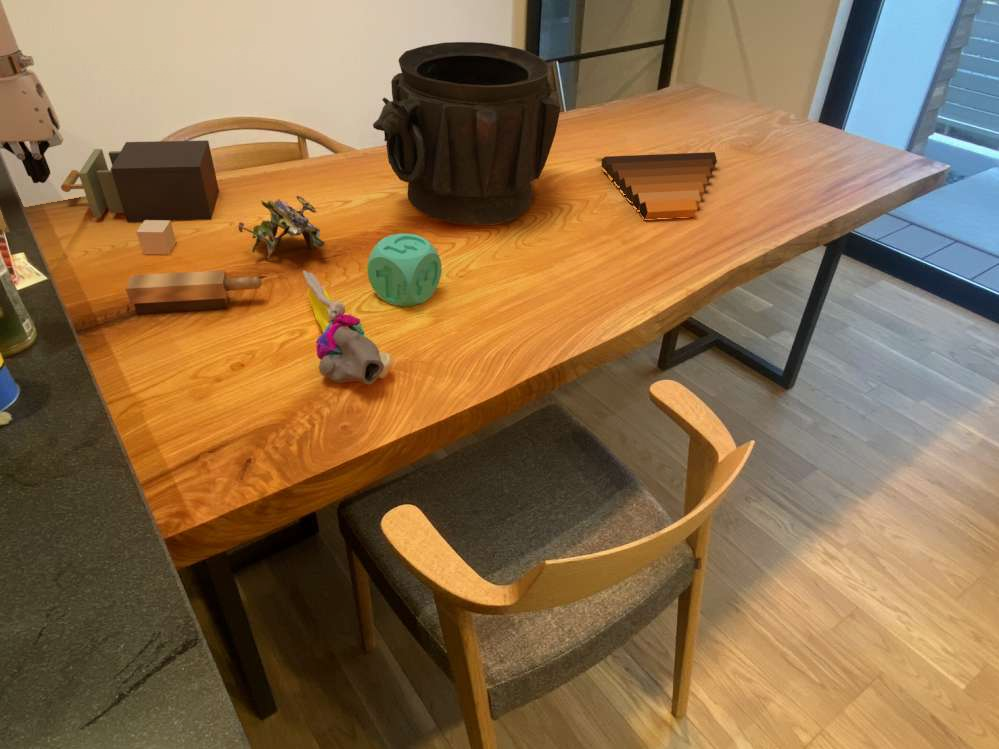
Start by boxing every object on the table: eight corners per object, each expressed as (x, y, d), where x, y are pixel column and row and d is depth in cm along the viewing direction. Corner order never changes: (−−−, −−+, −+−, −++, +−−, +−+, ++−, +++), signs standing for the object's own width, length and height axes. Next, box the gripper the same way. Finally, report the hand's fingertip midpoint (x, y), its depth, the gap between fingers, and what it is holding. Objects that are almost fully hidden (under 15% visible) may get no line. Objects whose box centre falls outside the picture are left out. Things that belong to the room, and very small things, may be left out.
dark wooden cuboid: (127, 222, 118) (110, 168, 112) (141, 193, 126) (125, 141, 120) (211, 219, 120) (199, 166, 114) (219, 191, 129) (208, 140, 123)
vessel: (366, 228, 120) (355, 79, 105) (413, 159, 145) (409, 30, 129) (540, 250, 118) (555, 100, 102) (557, 176, 142) (572, 46, 127)
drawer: (66, 218, 116) (49, 174, 111) (82, 192, 124) (67, 149, 119) (172, 214, 119) (160, 171, 114) (181, 189, 127) (171, 147, 122)
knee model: (331, 325, 106) (391, 405, 87) (279, 316, 101) (330, 400, 83) (348, 269, 103) (413, 341, 84) (295, 258, 98) (352, 331, 80)
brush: (134, 315, 97) (125, 288, 94) (139, 301, 100) (130, 275, 97) (264, 307, 100) (259, 281, 97) (265, 294, 103) (260, 268, 100)
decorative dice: (368, 295, 104) (364, 248, 99) (401, 273, 110) (399, 227, 105) (410, 313, 101) (409, 265, 96) (442, 289, 107) (442, 243, 101)
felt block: (136, 231, 107) (144, 219, 111) (143, 254, 110) (151, 242, 113) (162, 232, 108) (170, 220, 111) (169, 254, 110) (176, 242, 113)
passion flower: (313, 275, 118) (343, 235, 109) (257, 288, 110) (284, 246, 102) (282, 221, 119) (308, 177, 111) (223, 230, 111) (247, 183, 103)
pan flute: (707, 164, 152) (600, 168, 147) (710, 149, 150) (602, 153, 145) (765, 215, 133) (645, 222, 128) (770, 198, 131) (649, 205, 126)
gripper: (56, 57, 109) (95, 168, 120) (-50, 58, 106) (0, 172, 118) (42, 71, 103) (84, 187, 115) (-71, 73, 100) (-16, 191, 112)
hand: (41, 179), depth 116 cm, fingers closed
